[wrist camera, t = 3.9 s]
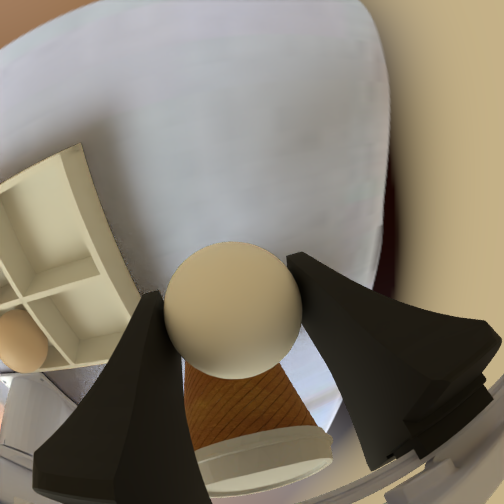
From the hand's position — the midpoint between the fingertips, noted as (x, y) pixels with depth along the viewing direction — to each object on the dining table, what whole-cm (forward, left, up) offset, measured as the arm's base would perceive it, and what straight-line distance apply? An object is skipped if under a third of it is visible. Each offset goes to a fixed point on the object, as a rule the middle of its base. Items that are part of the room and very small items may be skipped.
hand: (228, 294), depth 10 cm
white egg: (0, 0, -1) cm, 1 cm away
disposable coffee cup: (-11, +1, -7) cm, 13 cm away
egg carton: (0, +12, -7) cm, 14 cm away
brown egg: (-4, +16, -7) cm, 17 cm away
